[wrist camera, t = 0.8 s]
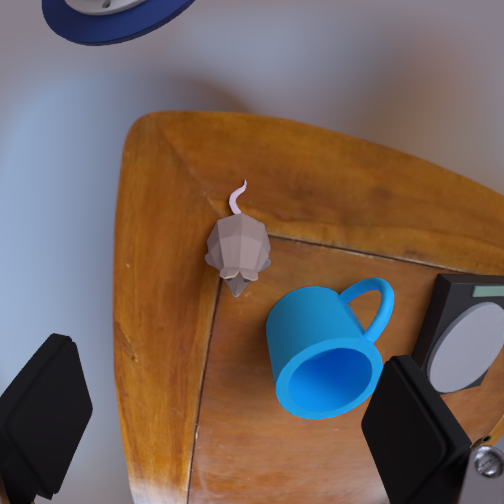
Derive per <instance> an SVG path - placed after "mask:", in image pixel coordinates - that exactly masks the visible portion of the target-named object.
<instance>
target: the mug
mask: <svg viewBox="0 0 504 504" xmlns="http://www.w3.org/2000/svg"><path fill="white" fill-rule="evenodd" d="M370 290H379V291H380V292H381V294H382V296H381V304H380V307H379V310H378V312H377V315H376V317H375V318H374V320H373V321H372V323H371V324H370V326H369V328H368V329H367V330H366V331H365V330H364V328H363V327H362V325H361V324H360V322H359V321H358V319H357V318H356V316H355V314H354V313H353V311H352V310H351V308H350V307H349V305H348V303H349V302H350V301H351V300H353V299H354V298H356V297H357V296H359V295H361V294H362V293H365V292H367V291H370ZM393 307H394V292H393V290H392V288H391V286H390V284H389V283H388V282H387V281H385V280H383V279H381V278H378V277H376V278H367V279H364V280H362V281H359V282H357V283H355V284H353V285H352V286H350V287H349V288H347V289H346V290H344V291H343V292H342V293H341V294H338V293H336V292H335V291H333V290H331V289H329V288H324V287H319V286H312V287H303V288H300V289H298V290H295V291H292V292H290V293H288V294H287V295H286V296H284V297H283V298H282V299H280V300H279V301H278V302H277V303H276V305H275V306H274V307H273V309H272V310H271V311H270V313H269V316H268V319H267V323H266V334H267V341H268V347H269V353H270V360H271V366H272V372H273V378H274V384H275V390H276V396H277V398H278V400H279V402H280V404H281V406H282V407H283V408H285V409H286V410H287V411H288V412H290V413H291V414H293V415H296V416H299V417H302V418H307V419H324V418H330V417H335V416H338V415H340V414H343V413H345V412H348V411H350V410H352V409H353V408H355V407H356V406H358V405H360V404H361V403H363V402H364V401H365V400H366V399H367V398H368V397H369V396H370V395H371V394H372V393H373V391H374V390H375V388H376V385H377V383H378V380H379V378H380V375H381V372H382V370H383V364H382V359H381V355H380V353H379V352H378V350H377V349H376V347H375V345H374V344H373V343H374V342H375V340H376V339H377V338H378V337H379V336H380V334H381V333H382V331H383V330H384V328H385V326H386V325H387V323H388V321H389V319H390V316H391V313H392V310H393Z"/></svg>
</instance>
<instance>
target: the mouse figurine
mask: <svg viewBox="0 0 504 504" xmlns="http://www.w3.org/2000/svg"><path fill="white" fill-rule="evenodd" d="M246 184H247V183H246V179H245V183H244V186H243V187H241V188H239V189H237V190H236V191H234V192H233V193H232V194H231V197H230V201H229V204H230V206H231V209H232V211H233V212H234V213H235V215H233V216H229V217H226V218H223V219H219V220H217V222H216V224H215V226H214V228H213V230H212V232H211V234H210V235H209V237H208V239H207V241H206V242H207V245H208V254H207V255H205V261H206V262H207V263H208V264H209V265H210V266H211V265H212V266H213V267H215V268H217V269H218V270H219V271H220V277H222V278H223V279H224V280H225V282H226V284H227V286H228V287H229V289H230V291H231V293H232V295H233V296H235V297H237V296H239V295H240V293H241V292H242V291H243V290H244V289H245V287H246V286H247V285H248V284H249V283H250V282H251V281H255V280H258V272H259V271H262V270H264V269H266V268H267V267H269V266H270V264H271V260H270V258H269V252H270V249H271V246H270V242H269V239H268V236H267V232H266V229H265V225H264V224H263V223H261V222H259V221H257V220H255V219H253V218H251V217H249V216H247V215H245V214H243V213H242V212H241V211H240V210H239V208H238V207H237V205H236V202H235V201H236V198H237V196H238V195H239V194H241V193H242V192H243V191H245V188H246Z"/></svg>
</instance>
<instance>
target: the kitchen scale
mask: <svg viewBox="0 0 504 504" xmlns="http://www.w3.org/2000/svg"><path fill="white" fill-rule="evenodd" d="M503 343H504V276H493V275H463V274H438V278H437V281H436V285H435V288H434V292H433V295H432V298H431V302H430V305H429V308H428V311H427V314H426V317H425V320H424V323H423V326H422V329H421V332H420V335H419V338H418V340H417V343H416V346H415V348H414V351H413V354H412V356H411V357H412V358H413V360H414V361H415V362H416V364H417V365H418V366H419V368H420V369H421V370H422V372H423V373H424V375H425V376H426V377H427V379H428V380H429V381H430V383H431V384H432V386H433V387H434V388H435V390H436V391H437V393H438V394H439V395H441V394H446V393H450V392H455V391H459V390H463V389H467V388H471V387H475V386H479V385H480V384H481V383H482V381H483V379H484V377H485V375H486V373H487V371H488V369H489V367H490V365H491V364H492V363H493V361H494V360H495V358H496V357H497V355H498V353H499V352H500V350H501V348H502V345H503Z"/></svg>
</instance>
